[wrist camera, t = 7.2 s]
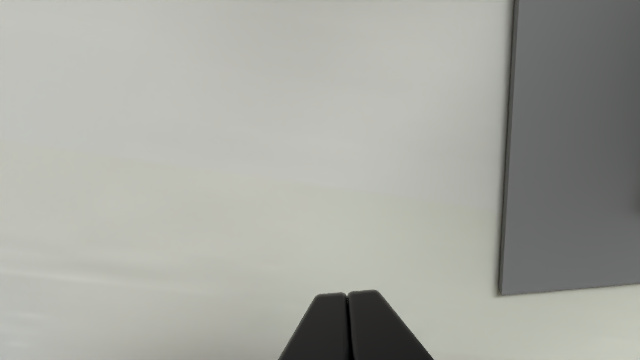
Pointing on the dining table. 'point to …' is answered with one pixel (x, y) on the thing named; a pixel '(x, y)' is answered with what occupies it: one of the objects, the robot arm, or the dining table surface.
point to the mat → (572, 147)
